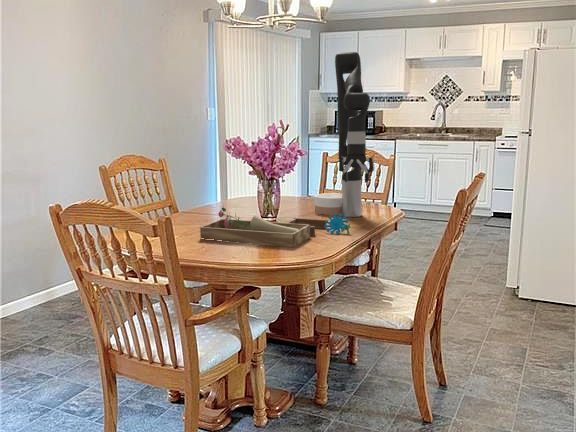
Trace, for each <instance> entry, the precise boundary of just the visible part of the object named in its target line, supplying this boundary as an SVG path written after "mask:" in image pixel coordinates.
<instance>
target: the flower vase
mask: <svg viewBox="0 0 576 432" xmlns="http://www.w3.org/2000/svg"><path fill="white" fill-rule="evenodd" d="M222 206H223V207H221V210H219V211H218V216H219V218H223V216H226V217H225V218H224V219H225V220H224V226H225V228H227V229H230V228H231V225H232V223H233V224H234V223H236V222H237V220H238V221H240V220H242V221H241V222H244V221H243V220H244V219H240V217H239V216H237V213H235V217H234V216H232V215H230V214H231V212H227V210H226V207H224V205H222ZM225 212H227V214H225ZM228 213H229V215H228ZM231 219H234V220H236V222H233V221H231ZM250 221H251V222H250V224H249V225H250V227H251V230H259V231H268V232H278V233H294V232H296V231H298V230H299V229H296V228H290V227H285V226H281V225H277V224H273V223H270V222H271V221H268V220H266V219H265V218H262V217H260V216H258V215H256V214H254V215H253V216H252V217H251V220H250ZM241 222H240V223H241ZM241 224H244V226H241V227H243V229H242V230H244V227H247V226H246V225H247V223H245V222H244V223H241ZM237 228H239V225H238V226H236V228H235V229H237ZM246 229H247V228H246Z"/></svg>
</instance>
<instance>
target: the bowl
mask: <svg viewBox="0 0 576 432" xmlns="http://www.w3.org/2000/svg"><path fill="white" fill-rule="evenodd" d="M314 213H316V214H318V215H322V214H325V215H324V216H334V214H337V216H339V214H342V192H340V193H339V192H325V193H324V192H323V193H318V194H315V195H314Z"/></svg>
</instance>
